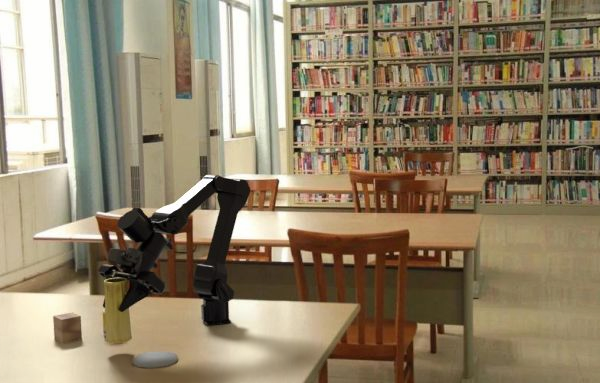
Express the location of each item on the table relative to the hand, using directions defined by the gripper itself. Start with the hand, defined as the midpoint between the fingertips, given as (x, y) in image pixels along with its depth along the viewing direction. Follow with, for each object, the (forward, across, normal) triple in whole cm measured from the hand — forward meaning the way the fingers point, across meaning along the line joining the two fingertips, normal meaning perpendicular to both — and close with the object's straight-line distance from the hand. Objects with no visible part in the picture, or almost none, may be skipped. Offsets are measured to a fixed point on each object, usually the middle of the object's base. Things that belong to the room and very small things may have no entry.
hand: (112, 309), depth 172 cm
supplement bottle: (0, -14, +15) cm, 21 cm away
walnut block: (+7, -20, +9) cm, 23 cm away
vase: (+5, 0, +6) cm, 8 cm away
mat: (+6, +11, +9) cm, 16 cm away
